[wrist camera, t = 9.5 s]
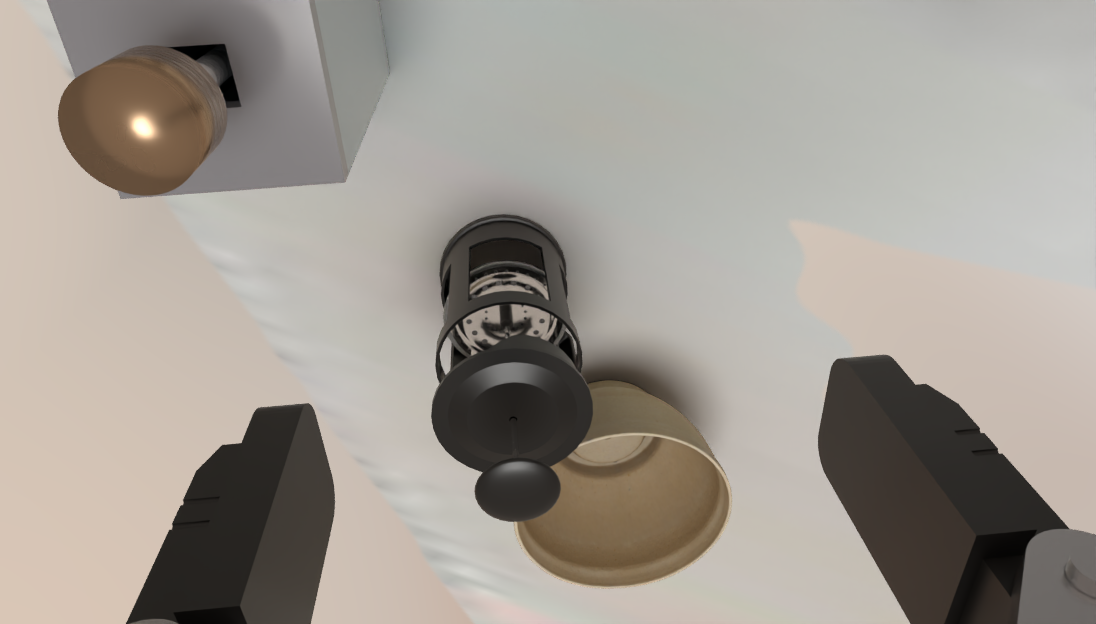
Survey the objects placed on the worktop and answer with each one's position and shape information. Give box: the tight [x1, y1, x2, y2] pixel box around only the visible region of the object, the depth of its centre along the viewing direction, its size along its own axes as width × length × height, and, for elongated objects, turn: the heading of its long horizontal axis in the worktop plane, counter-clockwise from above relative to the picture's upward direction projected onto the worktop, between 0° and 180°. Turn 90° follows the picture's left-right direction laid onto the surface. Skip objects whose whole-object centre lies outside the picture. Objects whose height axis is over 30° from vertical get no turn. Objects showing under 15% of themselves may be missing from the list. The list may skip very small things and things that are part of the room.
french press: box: [431, 215, 593, 522], centre depth 46 cm, size 12×9×23 cm
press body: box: [47, 0, 390, 199], centre depth 37 cm, size 9×9×19 cm
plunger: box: [58, 44, 233, 196], centre depth 33 cm, size 6×6×24 cm
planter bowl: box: [514, 380, 732, 589], centre depth 59 cm, size 16×16×11 cm
